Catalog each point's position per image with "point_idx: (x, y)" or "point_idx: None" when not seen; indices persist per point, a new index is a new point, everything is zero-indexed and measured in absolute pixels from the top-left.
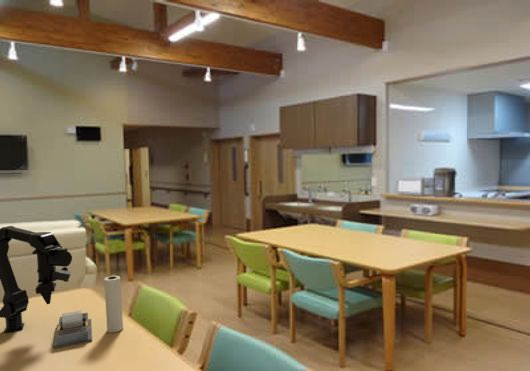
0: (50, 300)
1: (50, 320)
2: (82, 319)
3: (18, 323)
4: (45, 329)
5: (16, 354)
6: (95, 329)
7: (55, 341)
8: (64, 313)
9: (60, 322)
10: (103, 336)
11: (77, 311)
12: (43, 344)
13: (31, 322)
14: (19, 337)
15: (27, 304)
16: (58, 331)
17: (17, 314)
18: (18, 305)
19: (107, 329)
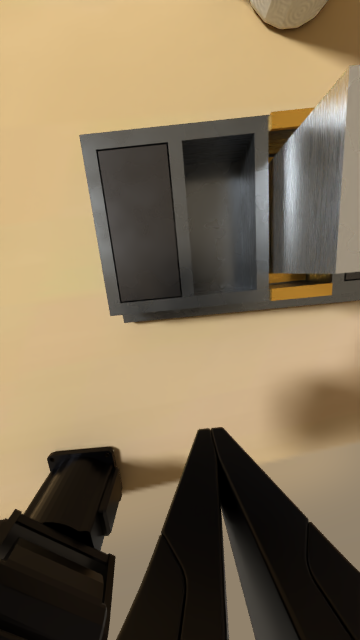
0: (226, 450)
1: (31, 362)
2: (293, 134)
3: (95, 482)
4: (136, 363)
5: (341, 415)
6: (231, 114)
7: (330, 296)
8: (342, 252)
9: (203, 297)
10: (351, 55)
11: (356, 119)
12: (298, 342)
13: (35, 431)
14: (185, 439)
15: (13, 556)
16: (338, 287)
17: (69, 532)
18: (74, 618)
19: (309, 12)
